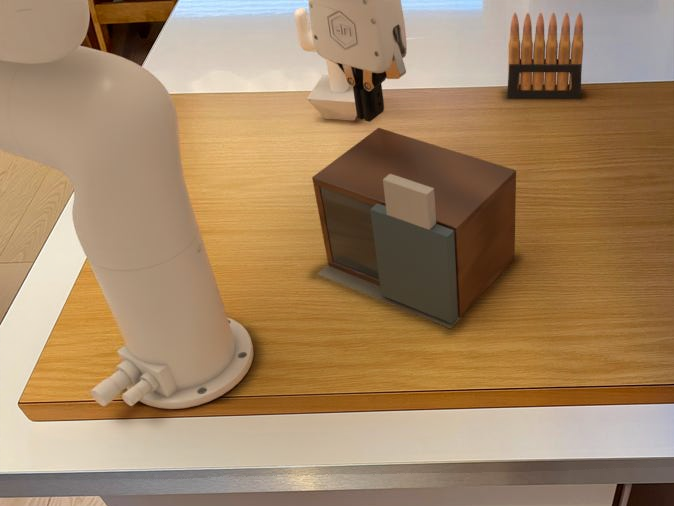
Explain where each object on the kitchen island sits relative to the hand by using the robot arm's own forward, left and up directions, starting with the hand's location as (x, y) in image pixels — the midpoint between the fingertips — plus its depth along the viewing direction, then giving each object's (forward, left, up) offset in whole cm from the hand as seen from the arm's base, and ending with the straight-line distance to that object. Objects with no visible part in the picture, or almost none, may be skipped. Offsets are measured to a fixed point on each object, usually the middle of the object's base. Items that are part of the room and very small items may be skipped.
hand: (370, 114), depth 97 cm
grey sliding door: (-17, -18, -9) cm, 26 cm away
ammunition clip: (+31, -7, -10) cm, 33 cm away
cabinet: (-10, -14, -10) cm, 20 cm away
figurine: (+13, +15, -10) cm, 22 cm away
